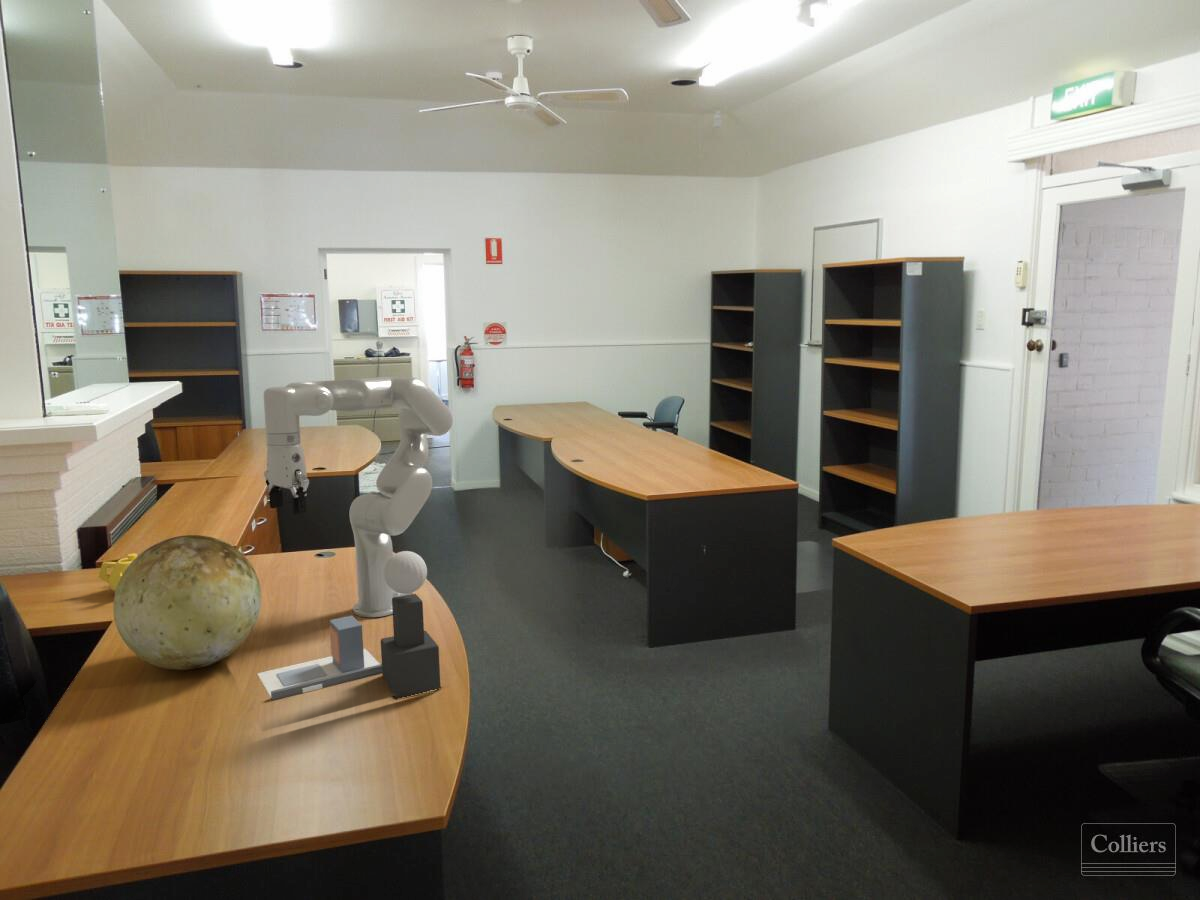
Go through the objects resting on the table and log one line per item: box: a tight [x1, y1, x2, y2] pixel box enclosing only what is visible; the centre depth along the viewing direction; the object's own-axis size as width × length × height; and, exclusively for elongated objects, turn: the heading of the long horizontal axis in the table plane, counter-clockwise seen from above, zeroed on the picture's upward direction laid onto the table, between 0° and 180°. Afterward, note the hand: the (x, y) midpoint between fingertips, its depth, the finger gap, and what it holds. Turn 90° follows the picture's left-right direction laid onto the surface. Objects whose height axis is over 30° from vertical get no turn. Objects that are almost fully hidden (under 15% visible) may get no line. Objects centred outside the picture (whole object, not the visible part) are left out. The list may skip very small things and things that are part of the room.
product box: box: [329, 615, 364, 673], centre depth 187 cm, size 5×7×10 cm
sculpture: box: [380, 550, 441, 700], centre depth 178 cm, size 10×10×30 cm
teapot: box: [98, 552, 141, 593], centre depth 241 cm, size 20×18×11 cm
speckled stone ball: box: [113, 534, 262, 671], centre depth 190 cm, size 30×30×30 cm
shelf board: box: [256, 647, 382, 701], centre depth 184 cm, size 24×15×3 cm, turn 123°
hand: (288, 510), depth 201 cm, fingers open, 9 cm apart
